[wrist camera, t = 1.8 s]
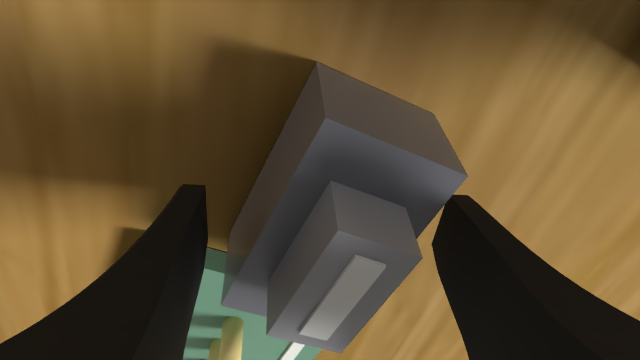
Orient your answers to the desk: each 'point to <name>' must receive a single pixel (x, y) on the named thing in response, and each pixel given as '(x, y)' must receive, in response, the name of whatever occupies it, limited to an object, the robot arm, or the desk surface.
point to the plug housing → (338, 211)
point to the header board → (232, 326)
